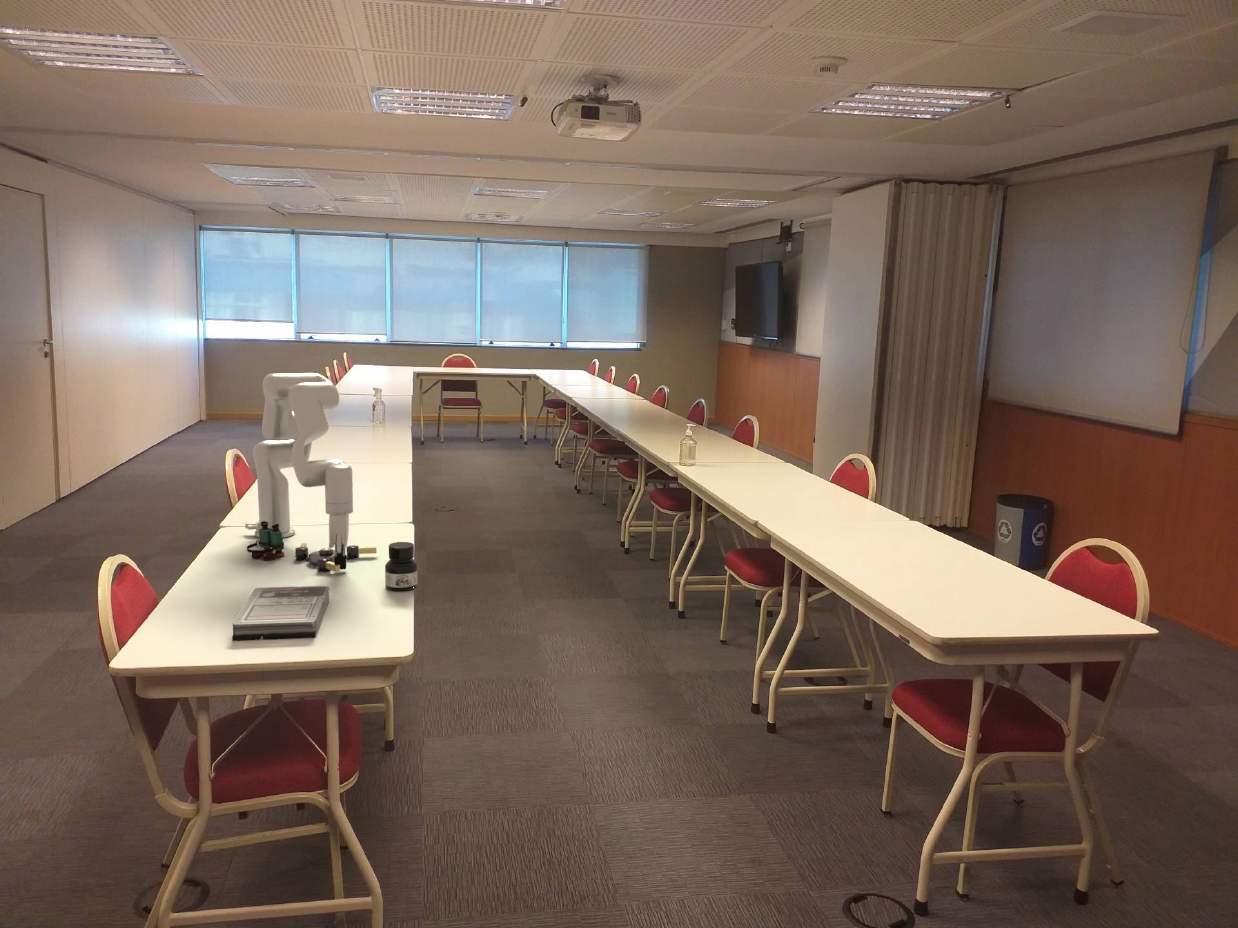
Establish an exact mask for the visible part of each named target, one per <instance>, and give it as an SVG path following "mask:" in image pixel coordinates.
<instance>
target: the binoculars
mask: <svg viewBox="0 0 1238 928" xmlns="http://www.w3.org/2000/svg"><path fill="white" fill-rule="evenodd" d="M261 526H262V529H259V537H258V538H259V540H256V541H255V542H253V543H251V544H248V545H247V546H246V551H247V552H248V553H251V558H252V559H254V560H259V559H262V560H263V561H264V562H266V561H267V562H268V561H271V560H273V559H275V557H278V558H281V557H285V552H284V551H283V550H284V549H285V543H284V539H283V538H282V532H281V530H279V528H278V527H279V524H275V525H272V528H273V529H272V528H268V522H266V521H262V522H261ZM255 547H256V548H259V547H260V548H261V549H251V548H255Z"/></svg>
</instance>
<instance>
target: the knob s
mask: <svg viewBox="0 0 1238 928" xmlns="http://www.w3.org/2000/svg"><path fill="white" fill-rule="evenodd" d="M317 566H318V567H317V572H319V573H328V572H330V571H332V572H334V573H338V572H340V571H341V569H340V565H339V564H336V563H333V562H330V558H319V559H317Z"/></svg>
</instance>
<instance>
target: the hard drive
mask: <svg viewBox="0 0 1238 928" xmlns="http://www.w3.org/2000/svg"><path fill="white" fill-rule="evenodd" d="M329 603H330V588H329V585H309V586H308V585H307V586H271V587H270V586H269V587H256V588H254V589H253V591H252V592H251V594H249V597H248V599H247V600H246V601H245V603H244V604H243V606H242V608H241V609H240V610H239V612H238V614H237V615H236V616H235V617H234V620H233V621H232V634H233V635H232V636H231V637H232V639H231V640H232V642H245V641H247V642H248V641H263V640H264V641H273V640H276V641H277V640H295V639H297V640H298V639H300V640H301V639H316V638H317V635H318V632H319V630H320V627H321V624H322V623H323V619H324V616H325V614H326V611H327V608H328V606H329Z"/></svg>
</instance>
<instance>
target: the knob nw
mask: <svg viewBox="0 0 1238 928" xmlns="http://www.w3.org/2000/svg"><path fill="white" fill-rule="evenodd" d="M307 544H308V543H306V542H305V543H301V544H300V546H298V547H296V548H295V560H296V561H299V562H301V561H302V562H304V561H306V557H308V556H309V548H308V546H307Z"/></svg>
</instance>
